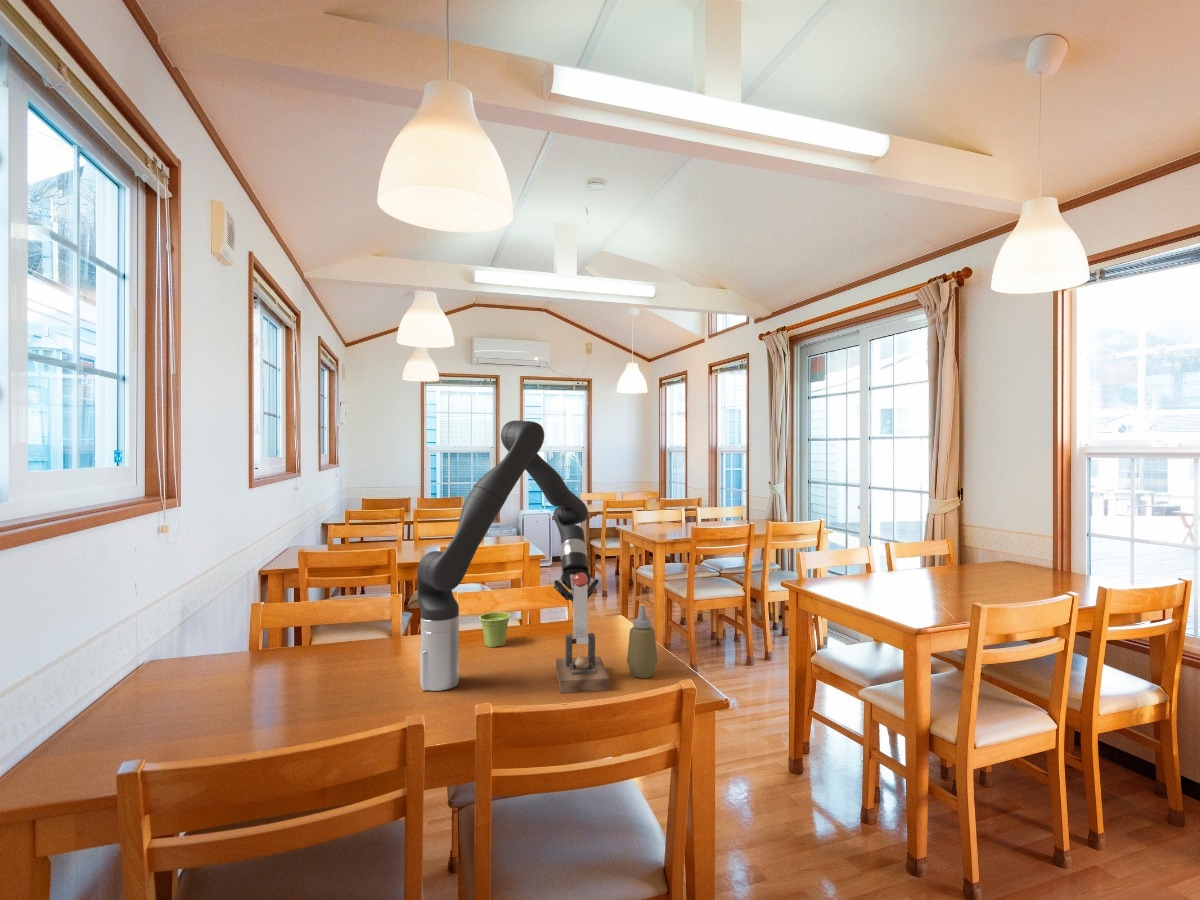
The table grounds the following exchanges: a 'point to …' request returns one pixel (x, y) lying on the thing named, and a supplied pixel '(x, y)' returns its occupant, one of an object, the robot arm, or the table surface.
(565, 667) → the nutcracker base
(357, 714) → the table surface
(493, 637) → the plant pot
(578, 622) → the lever
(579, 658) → the walnut
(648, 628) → the squeeze bottle
